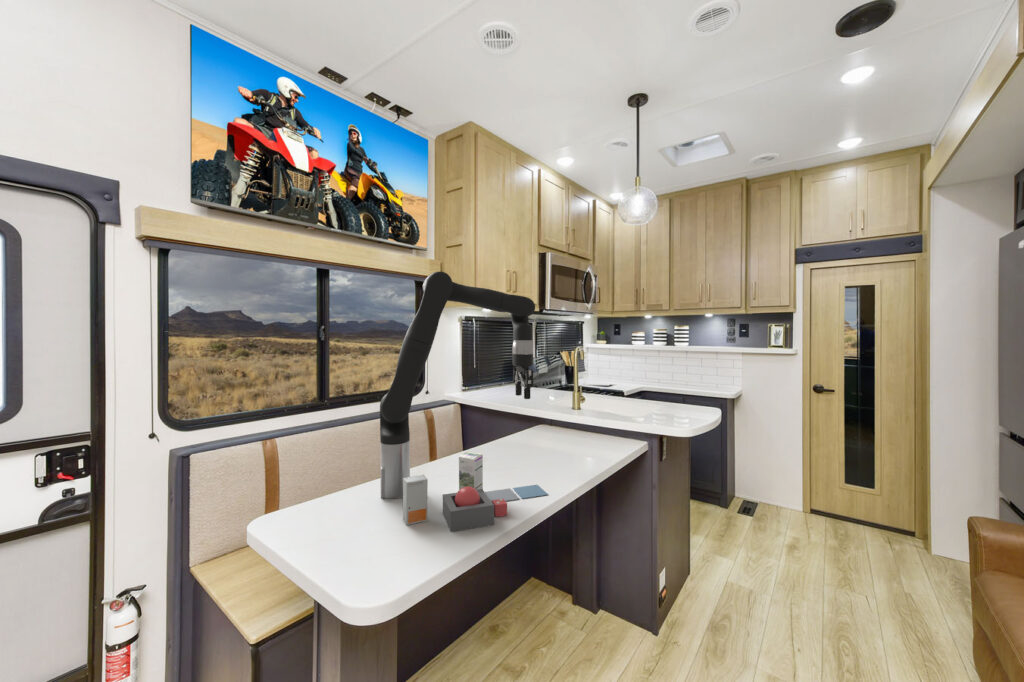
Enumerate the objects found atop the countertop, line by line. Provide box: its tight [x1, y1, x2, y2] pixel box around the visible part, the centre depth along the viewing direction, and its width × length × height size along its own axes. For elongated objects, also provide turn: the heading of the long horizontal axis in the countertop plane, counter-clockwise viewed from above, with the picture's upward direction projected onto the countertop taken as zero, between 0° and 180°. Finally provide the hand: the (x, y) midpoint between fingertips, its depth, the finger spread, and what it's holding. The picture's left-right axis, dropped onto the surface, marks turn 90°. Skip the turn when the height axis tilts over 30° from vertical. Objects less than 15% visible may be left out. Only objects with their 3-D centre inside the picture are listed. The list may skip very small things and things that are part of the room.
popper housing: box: [442, 488, 508, 533], centre depth 115 cm, size 17×12×6 cm
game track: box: [484, 484, 549, 502], centre depth 130 cm, size 30×9×1 cm, turn 110°
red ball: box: [455, 486, 480, 507], centre depth 114 cm, size 7×7×7 cm
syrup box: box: [458, 451, 484, 491], centre depth 127 cm, size 6×6×14 cm
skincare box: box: [402, 474, 428, 526], centre depth 114 cm, size 6×4×12 cm
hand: (522, 397), depth 148 cm, fingers open, 8 cm apart
